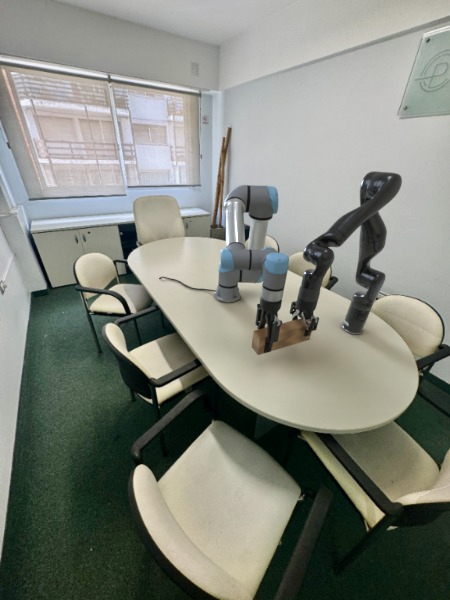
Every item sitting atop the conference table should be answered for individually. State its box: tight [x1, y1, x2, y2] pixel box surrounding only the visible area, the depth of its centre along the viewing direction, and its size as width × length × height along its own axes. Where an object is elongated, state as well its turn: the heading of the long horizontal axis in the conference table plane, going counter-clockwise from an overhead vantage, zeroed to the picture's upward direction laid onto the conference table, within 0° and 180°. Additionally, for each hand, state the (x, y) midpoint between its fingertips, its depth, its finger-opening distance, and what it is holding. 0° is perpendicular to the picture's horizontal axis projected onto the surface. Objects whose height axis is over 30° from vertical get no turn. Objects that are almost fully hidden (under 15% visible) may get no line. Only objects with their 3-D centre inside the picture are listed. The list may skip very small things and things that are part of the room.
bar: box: [251, 318, 313, 356], centre depth 98 cm, size 26×5×8 cm, turn 113°
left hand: (263, 347), depth 97 cm, fingers closed on bar, 5 cm apart
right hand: (299, 330), depth 101 cm, fingers open, 7 cm apart
